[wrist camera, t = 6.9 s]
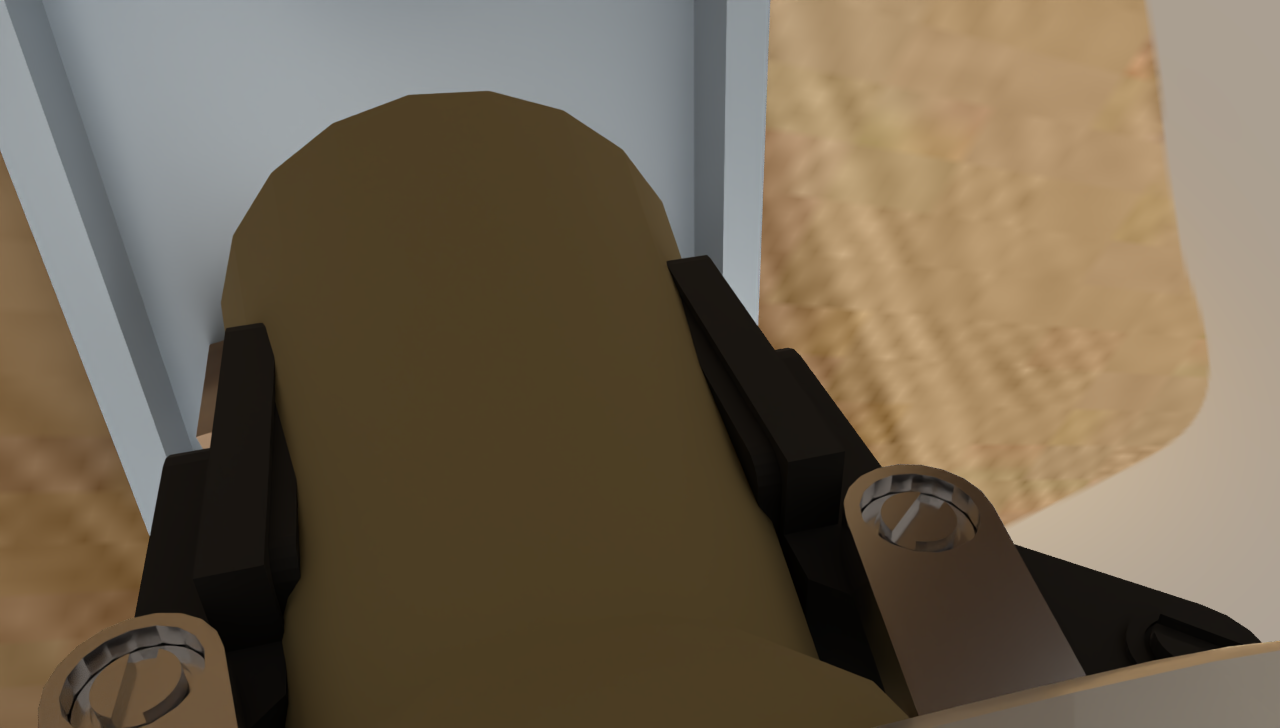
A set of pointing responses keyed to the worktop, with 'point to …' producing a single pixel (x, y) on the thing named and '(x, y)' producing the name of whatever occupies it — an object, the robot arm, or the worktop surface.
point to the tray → (300, 110)
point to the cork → (509, 442)
